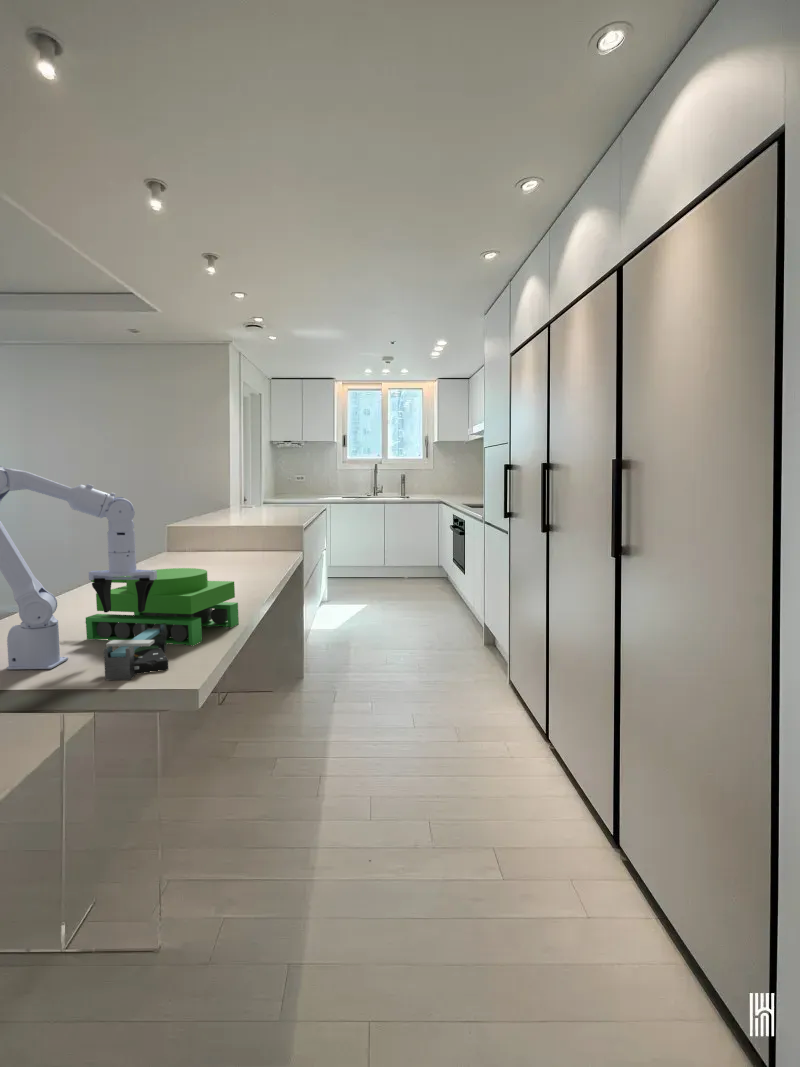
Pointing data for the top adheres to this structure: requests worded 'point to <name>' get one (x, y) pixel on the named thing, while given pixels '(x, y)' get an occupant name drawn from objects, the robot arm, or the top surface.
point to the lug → (119, 665)
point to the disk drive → (149, 659)
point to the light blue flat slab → (134, 642)
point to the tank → (167, 607)
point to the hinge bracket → (158, 636)
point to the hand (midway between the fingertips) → (124, 611)
